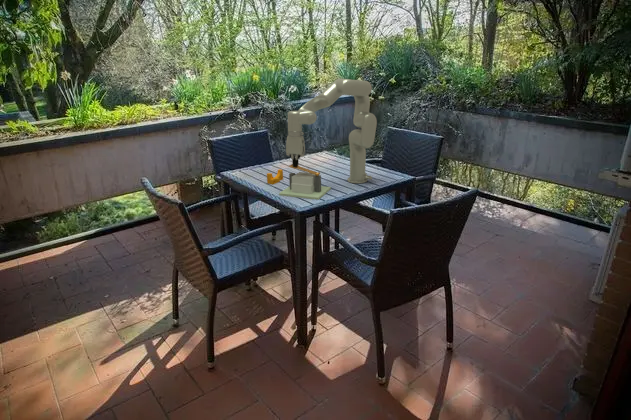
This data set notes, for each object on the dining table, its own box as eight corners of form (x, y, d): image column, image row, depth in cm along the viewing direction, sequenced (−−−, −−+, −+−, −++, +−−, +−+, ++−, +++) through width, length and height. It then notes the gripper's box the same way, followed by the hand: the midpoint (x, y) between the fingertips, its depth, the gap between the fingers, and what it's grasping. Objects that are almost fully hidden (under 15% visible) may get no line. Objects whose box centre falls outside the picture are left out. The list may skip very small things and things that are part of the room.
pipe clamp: (272, 184, 258) (271, 174, 255) (267, 183, 260) (266, 173, 258) (285, 180, 267) (284, 170, 264) (280, 179, 269) (279, 169, 267)
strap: (320, 174, 238) (321, 172, 237) (317, 176, 233) (317, 174, 233) (292, 165, 242) (292, 162, 242) (288, 167, 238) (289, 165, 238)
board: (330, 189, 247) (330, 171, 243) (318, 199, 229) (318, 181, 226) (293, 185, 255) (293, 168, 252) (279, 195, 238) (278, 177, 234)
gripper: (310, 133, 233) (310, 165, 239) (285, 131, 238) (286, 163, 245) (304, 135, 226) (305, 169, 233) (279, 134, 232) (280, 166, 238)
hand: (295, 166), depth 239 cm, fingers closed
